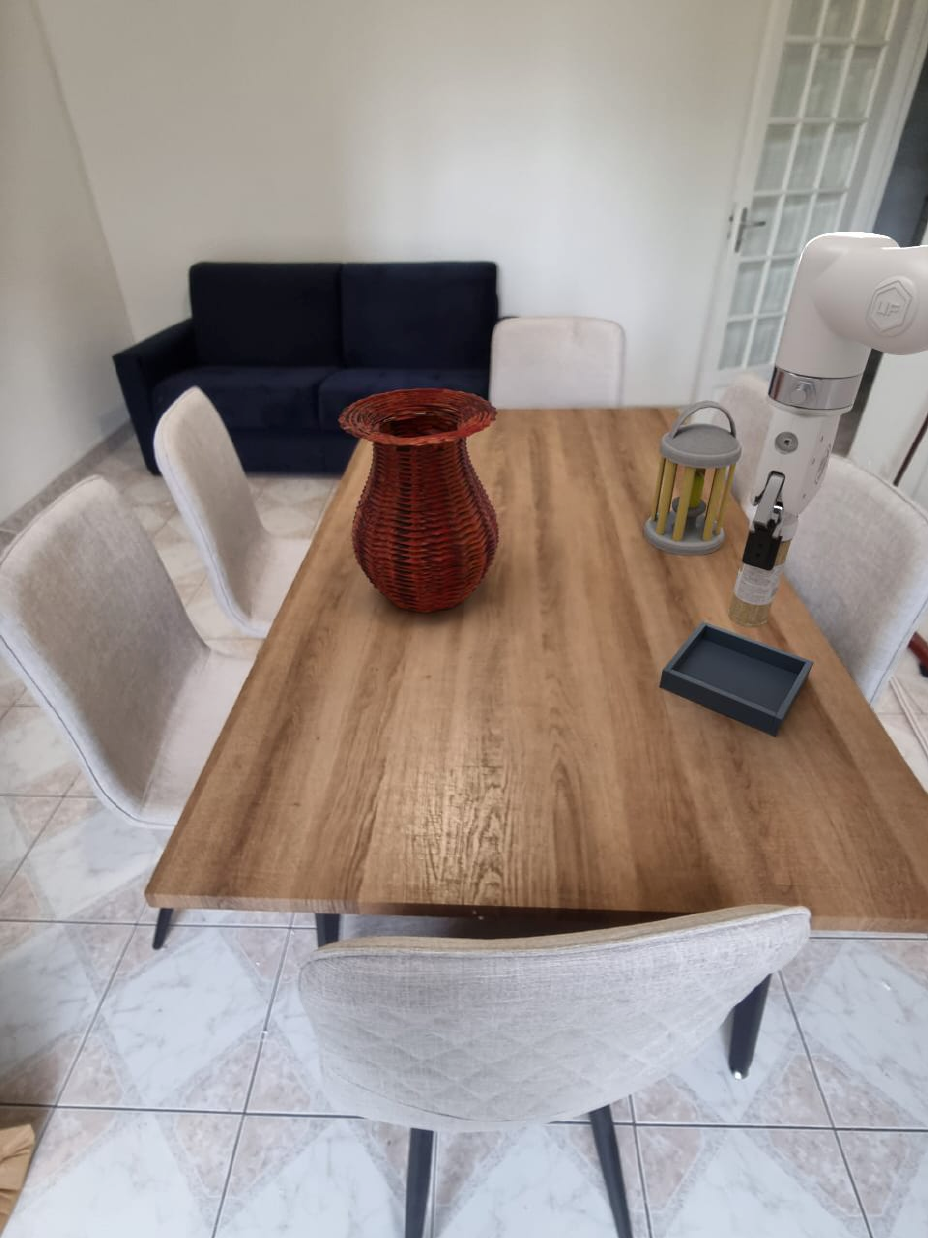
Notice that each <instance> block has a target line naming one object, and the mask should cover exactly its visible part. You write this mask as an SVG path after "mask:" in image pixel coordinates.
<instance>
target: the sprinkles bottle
mask: <svg viewBox="0 0 928 1238" xmlns="http://www.w3.org/2000/svg"><path fill="white" fill-rule="evenodd" d="M755 513H756V510H754V511H753V512H752V515H751V517H750V522H749V526H748V529H749V530H750V528H751V525H752V522H753V519H754V516H755ZM778 516H779V514H775V513H772V519H774V520H775V523H776V522H777V519H778ZM797 516H798V515H797ZM797 516H795V517H794V516H791V514H788V513H787V516H786V519H785V522H784V525H783V528H782V530H781V533H780V536H783V538H782V541H781V545H780V548H779V551H778V555H777V558H776V562H775V565H774V568H773V569H772V570H771V571H767V570H764V569H761V568H758V567H754V566H751V565H748V564H745V563H743V562H742V561H741V563H740V566H739V569H738V571H737V576H736V578H735V579H736V580H735V582H734V583H735V584H734V587H733V594H732V597H731V598H732V599H731V601H730V605H729V608H728V610H727V616H728V618H729V620H730V621H732V622H734V624H736V625H739V626H741V627H744V628H749V629H750V628H751V629H754V628H755V629H756V628H761V627H764V626H765V625H766V624H767V623H768V622H769V615H770V611H771V608H772V604H773V601H774V600H775V598H776V594H777V591H778V588H779V584H780V582H781V579H782V575H783V573H784V568H785V565H786V562H787V557H788V553H789V549H790V546H791V543H792V540H793V539H794V537H795V536H796V532H797V529H798V525H799V517H798V518H797Z"/></svg>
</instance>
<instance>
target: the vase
mask: <svg viewBox="0 0 928 1238" xmlns="http://www.w3.org/2000/svg"><path fill="white" fill-rule="evenodd" d="M492 404H493V403H492V402H491V401H488V400H486V399H484V397H482V396H478V395H476V394H475V393H471V392H464V391H462V390H452V389H447V388H432V387H431V388H412V389H396V390H393V391H387V392H383V393H375V394H372V395H369V396H367V397H365V398H362V399H357V401H355V402H351V404H350V405H349V406H347V407H345V408H343V409H342V413H341V414H340V415H339V418H338V419H337V421H338V422H339V423H340V426H339V428H340V429H342V430H345V432H346V433H347V434H349V435H352V436H353V437H354V438H358V439H362V440H366V441H368V442H371V443H372V444H371V446H372V452H373V453H372V459H371V460H372V462H371V464H370V469H369V472H368V475H367V480H366V481H365V485H364V486H363V489H362V491H361V492H362V494H360V495H359V497H360V499H359V500H358V501H357V504H358V505H357V506H356V507H355V509H356V511H355V512H354V516H353V520H352V527H351V529H350V530H351V532H350V536H349V537H351V540H350V542H351V543H352V544H351V545H352V547H351V549H352V550H353V551H352V553H353V555H354V558H355V560H356V561H357V564H358V565H359V566H360V569H361V571H362V572H363V573H364V575H365V576H366V578H367V579H368V580H369V582H370V584H372V585H373V588H374V589H375V590H378V591H379V593H380V594H381V595H382V596H385V597H386V599H387V600H389V601H391V603H393V604H395V606H396V607H398V608H401V609H406V610H411V611H415V612H419V613H430V612H435V611H440V610H447V609H453V608H454V607H456V606H457V605H458V604H460V603H461V602H464V601H465V600H466V599H467V598H468V597H469V596H471V594H472V593H473V592H474V591H475V590H477V586H479V585H480V584H481V583H482V582H483V579H484V578H486V577H487V574H488V572H490V566H492V565H493V564H494V560H495V555H496V553H497V548H498V547H499V546H498V543H499V541H500V540H499V538H500V536H499V534H500V532H499V530H500V528H499V523H498V521H497V520H498V518H497V513H496V509H495V508H494V505H493V504H492V500H490V498H489V497H490V495H489V494H487V490H486V488H484V484H482V480H481V479H479V478H480V476H479V475H477V471H475V469H476V468H475V467H474V465H473V464H472V459H470V455H469V451H468V447H467V439H468V437H469V438H470V437H471V436H472V435H474V434H476V433H481V432H483V431H484V430H485V429H487V428H489V427H491V425H492V423H494V422H495V421H496V420H497V419H496V416H497V414H499V413H498V411H497V407H495V406H494V405H492Z"/></svg>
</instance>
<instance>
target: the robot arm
mask: <svg viewBox="0 0 928 1238" xmlns="http://www.w3.org/2000/svg"><path fill="white" fill-rule="evenodd" d="M777 347H778V348H777V351H776V355H775V359H774V362H773V368H772V372H771V376H770V379H769V380H770V381H769V384H768V387H767V392H766V396H765V400H766V402H767V403H768V404H769V405H771V406H773V411H772V415H771V416H770V420H769V424H768V426H767V429H766V434H765V436H764V441H763V444H762V448H761V450H760V451H761V452H760V454H759V459H758V462H757V466H756V470H755V473H754V477H753V481H752V486H751V490H750V497H749V502H750V503H751V505H752V507H756V513H755V516H754V519H753V522H752V525H751V528H750V529H749V531H748V535H747V539H746V542H745V546H744V550H743V554H742V558H741V562H743V563H745V564H748V565H751V566H754V567H758V568H761V569H764V570H767V571H771V570H772V569H773V568H774V565H775V562H776V558H777V555H778V551H779V548H780V545H781V541H782V538H783V536H780V533H781V530H782V528H783V525H784V522H785V519H786V516H787V513H788V514H791V516H794V517H795V516H797V518H798V519H799V515H801V514H802V513H803V512H804V511H805V510H806V509H807V508H808V506H809V505H810V503H811V502H812V500H813V499H814V498H815V496H816V495H817V494H818V492H819V491H820V489H821V488H822V485H823V483H824V480H825V477H826V473H827V469H828V465H829V462H830V458H831V455H832V450H833V447H834V443H835V440H836V437H837V432H838V428H839V424H840V422H841V417H842V415H843V414H847V413H849V412H850V411H851V410H853V407H854V404H855V401H856V398H857V395H858V393H859V389H860V386H861V383H862V379H863V377H864V373H865V371H866V368H867V364H868V360H869V357H870V354H871V351H872V349H873V350H875V351H878V352H881V353H884V354H887V355H888V354H889V355H895V356H908V355H914V354H915V355H916V354H919V353H922V352H925V351H928V244H924V245H918V246H907V247H900V245H899V243H898V242H897V241H896V240H895V239H894V238H892V237H890V236H886V235H882V234H876V233H866V232H833V233H824V234H821V235H818V236H816V237H814V238H813V239H811V240H810V241H809V242H808V243H807V244H806V245H805V247H804V248H803V250H802V252H801V255H800V258H799V261H798V264H797V269H796V272H795V277H794V281H793V285H792V290H791V294H790V297H789V302H788V306H787V309H786V314H785V318H784V322H783V326H782V331H781V335H780V338H779V342H778V346H777ZM772 513H775V514H779V516H778V519H777V522H776V523H775V520H774V519H772Z"/></svg>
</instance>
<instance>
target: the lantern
mask: <svg viewBox="0 0 928 1238" xmlns="http://www.w3.org/2000/svg"><path fill="white" fill-rule="evenodd" d="M709 408H710V409H711V408H712V409H716V410H719V411H721V412H722V413H723V414H724V415H725V416H726V418H727V421H728V423H729V428H730V430H728V429H726V428H724V427H721V426H719V425H716V424H713V423H706V422H691V423H686V424H683V423H684V422H685V421H686V420H687V419H688V418H689V417H690V416H692V415H693V414H695V413H696V412H698V411H700V410H704V409H709ZM742 450H743V447H742V445H741V442H740V440H739V439H738V438H737V429H736V423H735V420H734V418H733V416H732V414H731V413H730V411H729V410H728V409H727V407H725V406H724V405H722V404H721V403H720V402H718V401H715V400H714V401H713V400H708V399H707V400H702V401H697V402H695V403H693V404H691V405H690V406H688V407H686V408H685V409H684V410H683V411H682V412H681V413H680V414H679V415H678V416H677V418H676V419H675V421H674V422H673V424H672V426H671V428H670V429H669V431H668V432H666V433H665V434H664V435H663V436H662V438H661V439H660V443H659V454H660V459H659V460H660V461H659V466H658V471H657V472H658V473H657V478H656V485H655V491H654V497H653V504H652V510H651V516H650V517H649V518H648V519H647V520H646V522H645V523H644V528H643V536H644V538H645V540H646V541H647V542H648V543H649V544H650V545H652V546H653V547H655V548H656V549H658V550H661V551H663V552H666V553H668V554H669V553H670V554H673V555H678V556H688V557H695V556H696V557H697V556H704V555H705V556H706V555H708V554H712V553H714V552H716V551H717V550H718V549H720V548H721V547H722V545H723V543H724V541H725V537H726V535H725V531H724V528H723V527H722V526H723V523H724V517H725V514H726V509H727V505H728V501H729V496H730V493H731V488H732V483H733V480H734V474H735V472H736V471H735V470H736V467H737V463H738V462H739V460H740V459H741V455H742ZM679 465H680V466H682V467H684V472H683V479H682V483H681V488H680V495H679V496H677V497H675V498H673V495H674V488H675V484H676V483H675V482H676V476H677V471H678V466H679ZM728 467H729V468H728ZM727 468H728V472H727ZM665 469H666V470H665ZM711 469H714V474H713V478H712V483H711V487H710V492H709V497H708V500H707V503H706V502H705V501H704V500H702V495H703V490H704V484H705V477H706V471H707V470H711ZM726 472H727V478H726V481H725V476H726ZM664 476H665V477H664ZM724 481H725V484H724ZM723 485H725V486H724V490H723ZM662 487H663V488H662ZM722 490H723V494H722ZM721 495H722V499H721V503H720V498H721ZM672 498H673V499H672ZM719 503H720V508H719V513H718V517H717V519H716V516H717V512H718V507H719ZM659 506H660V507H659ZM671 508H672V509H671ZM704 513H705V514H704Z"/></svg>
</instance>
